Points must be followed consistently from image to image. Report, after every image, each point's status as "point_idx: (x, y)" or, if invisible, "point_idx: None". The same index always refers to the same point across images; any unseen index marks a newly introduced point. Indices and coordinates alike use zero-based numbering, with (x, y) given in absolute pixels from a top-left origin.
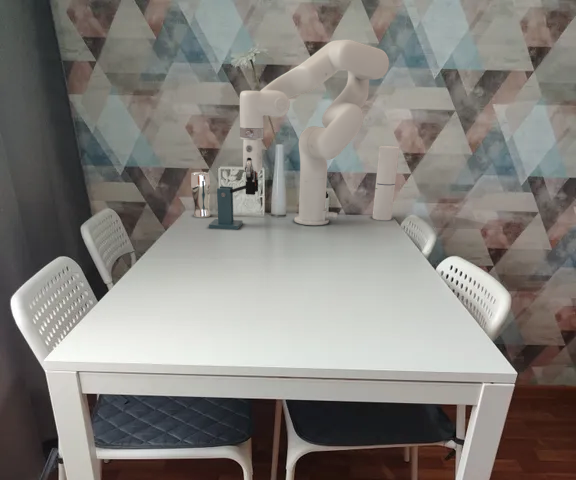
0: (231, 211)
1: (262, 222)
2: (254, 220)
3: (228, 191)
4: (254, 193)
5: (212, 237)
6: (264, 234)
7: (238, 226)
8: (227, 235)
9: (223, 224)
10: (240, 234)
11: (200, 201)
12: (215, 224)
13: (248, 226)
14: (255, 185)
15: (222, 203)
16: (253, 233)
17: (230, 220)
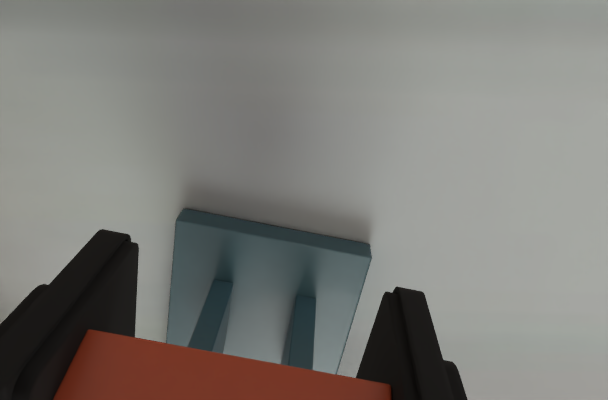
0: (215, 342)
1: (101, 47)
2: (43, 114)
3: None
4: (422, 305)
5: (554, 378)
6: (543, 50)
7: (341, 247)
8: (521, 305)
9: (317, 338)
10: (508, 230)
11: None
12: None
13: (260, 168)
14: (179, 347)
15: None
16: (493, 139)
17: (315, 317)
